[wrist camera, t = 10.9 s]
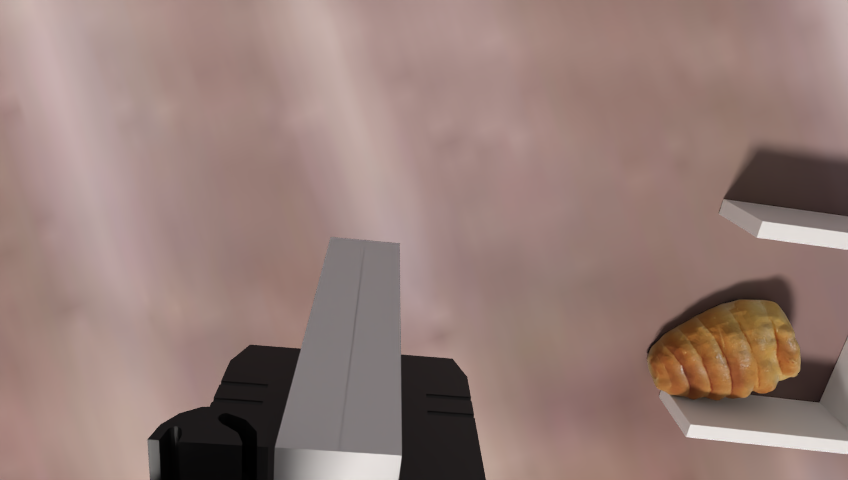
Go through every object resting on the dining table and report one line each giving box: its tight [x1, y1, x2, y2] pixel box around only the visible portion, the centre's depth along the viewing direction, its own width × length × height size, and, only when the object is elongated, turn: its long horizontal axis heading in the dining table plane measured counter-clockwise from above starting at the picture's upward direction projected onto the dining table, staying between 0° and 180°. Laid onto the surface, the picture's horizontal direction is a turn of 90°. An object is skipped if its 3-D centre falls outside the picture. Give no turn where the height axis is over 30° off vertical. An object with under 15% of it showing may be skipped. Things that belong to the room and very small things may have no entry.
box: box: [659, 199, 848, 454], centre depth 40 cm, size 15×13×4 cm
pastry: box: [647, 299, 801, 401], centre depth 41 cm, size 9×7×4 cm
